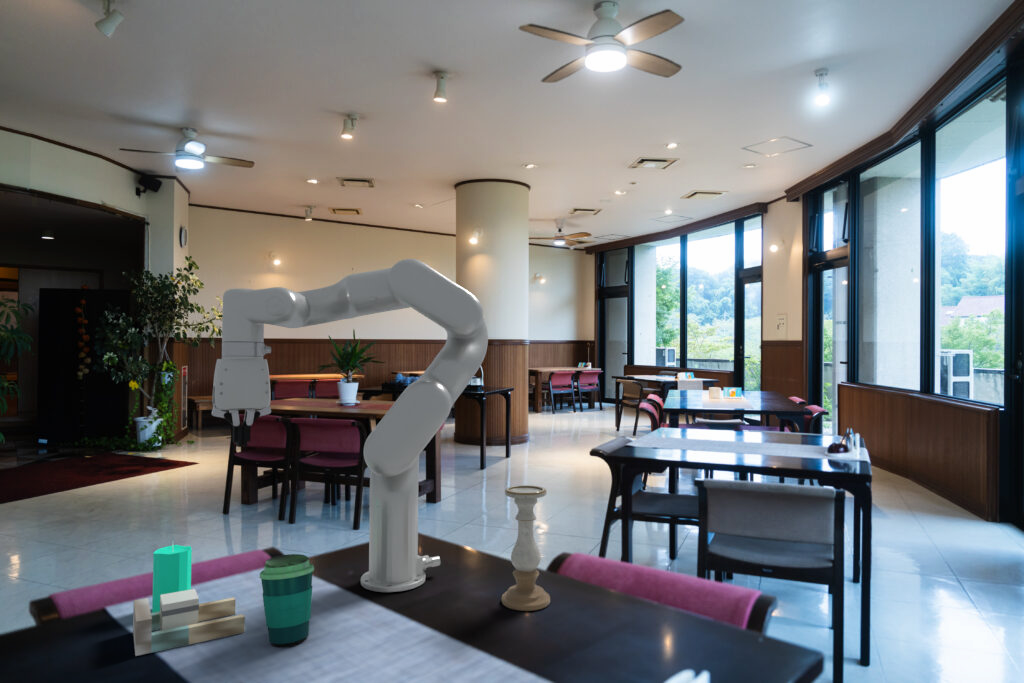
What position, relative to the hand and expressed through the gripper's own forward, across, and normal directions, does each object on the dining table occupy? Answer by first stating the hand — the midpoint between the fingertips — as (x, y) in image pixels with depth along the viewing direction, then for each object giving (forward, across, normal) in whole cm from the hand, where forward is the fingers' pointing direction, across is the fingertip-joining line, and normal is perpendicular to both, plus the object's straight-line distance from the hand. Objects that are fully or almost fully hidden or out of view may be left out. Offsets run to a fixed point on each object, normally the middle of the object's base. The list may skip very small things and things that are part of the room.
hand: (241, 445), depth 122 cm
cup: (+27, -2, +28) cm, 40 cm away
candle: (+27, +12, +6) cm, 30 cm away
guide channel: (+27, +10, +18) cm, 34 cm away
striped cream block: (+27, +12, +18) cm, 35 cm away
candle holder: (+27, -42, +37) cm, 62 cm away
